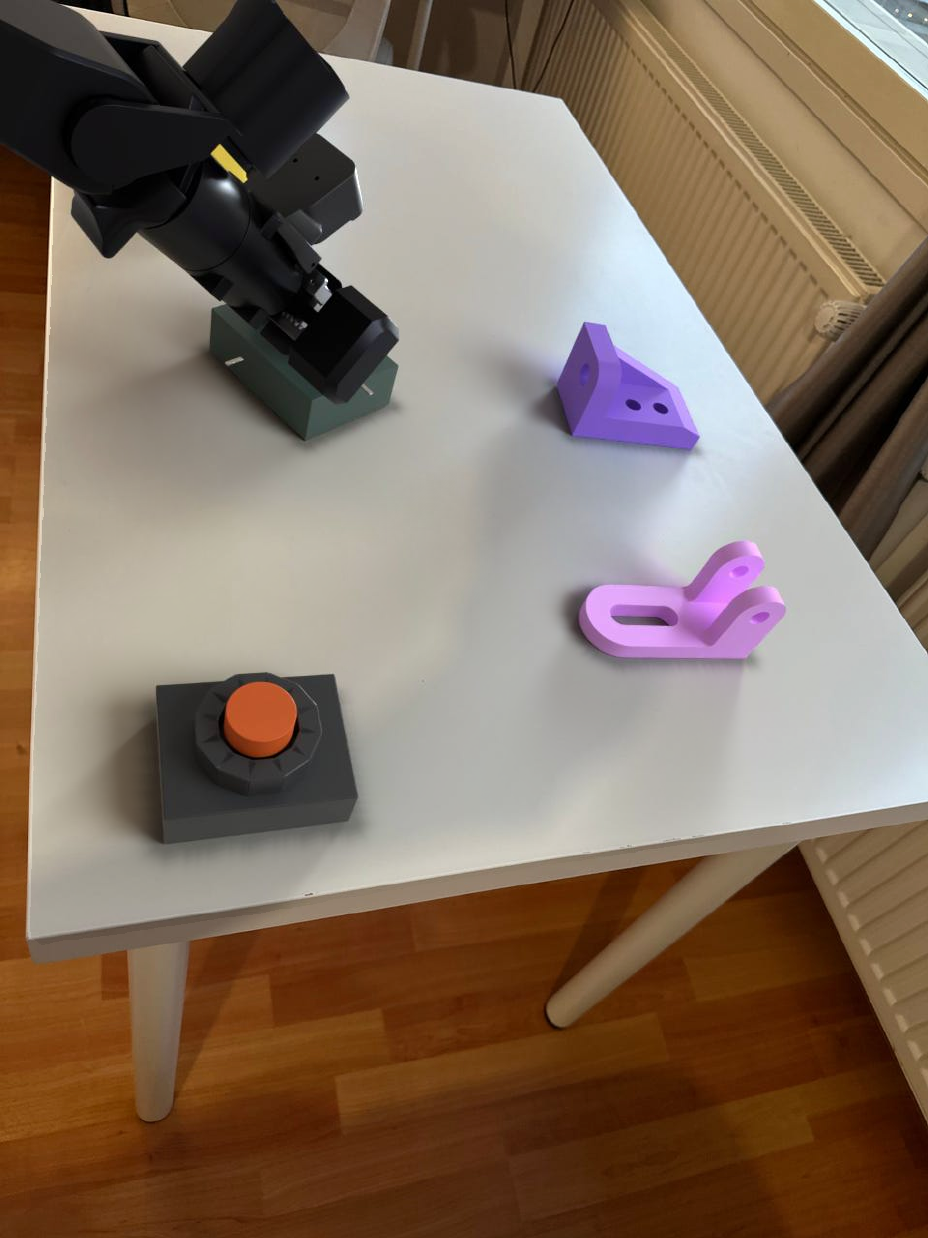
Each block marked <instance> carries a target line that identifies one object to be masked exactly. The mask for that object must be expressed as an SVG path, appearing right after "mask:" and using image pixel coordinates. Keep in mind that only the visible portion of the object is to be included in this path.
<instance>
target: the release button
mask: <svg viewBox="0 0 928 1238" xmlns="http://www.w3.org/2000/svg"><path fill="white" fill-rule="evenodd" d="M296 715H297V711H296V705H295V703H294V700H293V699H292V697H291V696H290V695H289V693H288V692H287V691H285V690H284V689H283V688H281V687H279V686H277V685H275V684H272V683H268V682H253V683H249V684H246V685H244V686H242V687H240V688H238V689H237V690H236V691H235V692H234V693H233V694H232V695H231V696H230V698H229V700H228V702H227V705H226V712H225V720H224V733H225V736H226V739H227V740H228V742H229V743H230V745H231V746H232V747H233V748H234V749H235V750H237V751H238V752H240V753H242V754H244V755H247V756H251V757H267V756H271V755H274V754H276V753H278V752H279V751H281V750H282V749H283V748H284V747H285V746H286V745H287V744H288V743H289V741H290V739H291V737H292V733H293V729H294V725H295V720H296Z"/></svg>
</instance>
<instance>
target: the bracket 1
mask: <svg viewBox="0 0 928 1238" xmlns="http://www.w3.org/2000/svg"><path fill="white" fill-rule="evenodd" d="M556 388H557V392H558V394H559V398H560V401H561V404H562V407H563V411H564V413H565V417H566V420H567V423H568V426H569V430H570V432H571V436H572V437H578V438H579V437H580V438H589V439H598V440H607V441H615V442H623V443H631V444H642V445H648V446H649V445H650V446H657V447H658V446H659V447H666V448H675V449H685V450H694V447H695V446H696V444H697V442H698V441H699V439H700V438H701V436H700V433H699V431H698V429H697V426H696V424H695V422H694V420H693V417H692V415H691V413H690V411H689V408H688V406H687V403H686V400H685V399H684V397H683V395H682V392H681V389H680V387H679V386H678V385H676V384H674V383H673V382H672V381H670V380H668V379H666V378H665V377H663V376H662V375H660V374H659V373H657V372H656V371H654V370H653V369H652V368H650V367H648V366H647V365H645V364H643V363H642V362H640V361H639V360H637V359H636V358H635V357H633V356H631V355H630V354H628V353H627V352H625V351H623V350H622V349H621V348H619V347H618V346H616V345H614V343H613V340H612V338H611V335H610V333H609V330H608V328H607V325H606V324H601V323H597V322H589V321H583V323H582V325H581V327H580V329H579V332H578V334H577V337H576V339H575V341H574V343H573V346H572V348H571V350H570V352H569V355H568V357H567V359H566V362H565V364H564V366H563V369H562V370H561V374H560V376H559V378H558V379H557V382H556Z"/></svg>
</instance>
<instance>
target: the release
mask: <svg viewBox="0 0 928 1238" xmlns="http://www.w3.org/2000/svg"><path fill="white" fill-rule="evenodd" d="M253 682H268V683H272V684H275V685H277V686H279V687H281V688H283V689H284V690H285V691H287V692H288V693H289V695H290V696H291V697H292V699H293V700H294V703H295V705H296V711H297V715H296V720H295V725H294V729H293V733H292V737H291V739H290V741H289V743H288V744H287V745H286V746H285V747H284V748H283V749H282V750H281V751H279V752H278V753H276V754H274V755H271V756H267V757H251V756H247V755H244V754H242V753H240V752H238V751H237V750H235V749H234V748H233V747H232V746H231V745H230V743H229V742H228V740H227V739H226V736H225V733H224V720H225V712H226V705H227V702H228V700H229V698H230V696H231V695H232V694H233V693H234V692H235V691H236V690H237V689H238V688H240V687H242V686H244V685H246V684H249V683H253ZM341 705H342V704H341V699H340V695H339V690H338V684H337V680H336V675H335V673H326V674H312V675H295V676H280V675H277V674H274V673H272V672H268V671H265V672H249V673H237V674H236V673H235V674H234V675H232V676H230V677H229V678H227V679H225V680H218V681H217V680H216V681H205V682H204V681H203V682H200V681H199V682H185V683H173V684H172V683H171V684H157V685H156V686H155V725H156V738H157V739H156V740H157V756H158V757H157V758H158V772H159V789H160V791H159V792H160V805H161V823H162V825H161V826H162V840H163V844H164V845H169V844H170V845H171V844H178V843H184V842H193V841H203V840H210V839H216V838H217V839H218V838H224V837H233V836H240V835H248V834H256V833H265V832H273V831H280V830H287V829H288V830H289V829H295V828H296V829H297V828H304V827H311V826H320V825H329V824H337V823H343V822H349V821H350V819H351V816H352V813H353V811H354V809H355V807H356V804H357V801H358V798H359V793H358V788H357V783H356V778H355V772H354V768H353V761H352V756H351V752H350V751H351V750H350V747H349V742H348V741H349V740H348V736H347V732H346V726H345V721H344V720H345V719H344V716H343V711H342V706H341Z"/></svg>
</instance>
